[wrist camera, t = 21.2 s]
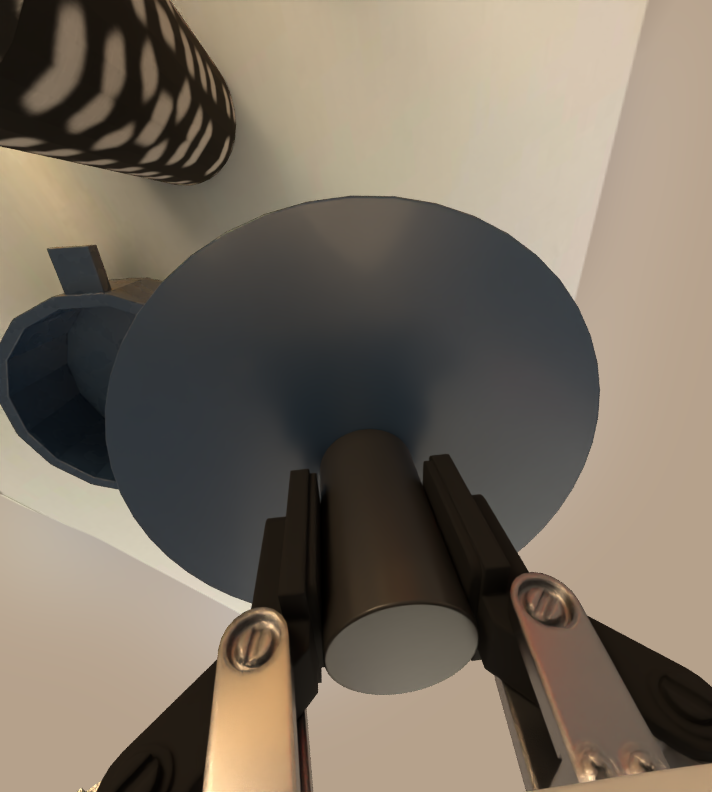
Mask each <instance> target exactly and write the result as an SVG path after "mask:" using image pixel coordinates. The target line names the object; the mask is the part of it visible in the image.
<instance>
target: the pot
mask: <svg viewBox="0 0 712 792" xmlns="http://www.w3.org/2000/svg"><path fill="white" fill-rule="evenodd" d="M47 251H48V253H49V256H50V258H51V261H52V263H53V265H54V268H55V270H56V273H57V275H58V278H59V280H60V283H61V285H62V288H63V290H64V293H63V294H60V295H57V296H53V297H51V298H49V299H47V300H46V301H44V302H42V303H40V304H39V305H37V306H35V307H33V308H31V309H30V310H28V311H26V312H24V313H23V314H21V315H19V316H17V317H16V318H14V319H13V320H12V322H11V323H10V325H9V327H8V329H7V331H6V333H5V335H4V336H3V338H2V340H1V342H0V404H1V406H2V408H3V410H4V411H5V413H6V415H7V417H8V419H9V420H10V422H11V424H12V426H13V428H14V429H15V431H16V433H17V434H18V436H19V437H21V438H22V439H23V440H24V441H25V442H26V443H27V444H28V445H30V446H31V447H32V448H33V449H34V450H35V451H36V452H37V453H39V454H40V455H41V456H42V457H43V458H44V459H45V460H46V461H48V462H49V463H50V464H51V465H53V466H55V467H57V468H59V469H61V470H63V471H65V472H67V473H69V474H72V475H74V476H76V477H78V478H80V479H82V480H84V481H86V482H88V483H90V484H93V485H98V486H103V487H108V488H114V489H119V488H118V485H117V483H116V480H115V477H114V474H113V472H112V469H111V465H110V460H109V455H108V450H107V444H106V437H105V405H106V398H107V392H108V385H109V378H110V375H111V372H112V369H113V366H114V363H115V360H116V357H117V354H118V351H119V348H120V345H121V343H122V341H123V339H124V337H125V335H126V334H127V332H128V330H129V328H130V326H131V324H132V322H133V321H134V319H135V317H136V315H137V313H138V312H139V311H140V309H141V308H142V307H143V306H144V304H145V303H146V302H147V300H148V299H149V298H150V297H151V295H152V294H153V293H154V291H155V290H156V289H157V288H158V286H159V285H160V284H161V283H162V282H163V281H160V280H154V279H151V278H127V279H118V280H108V277H107V274H106V271H105V269H104V266H103V263H102V260H101V257H100V254H99V251H98V248H97V246H96V245H83V246H67V247H53V248H47Z"/></svg>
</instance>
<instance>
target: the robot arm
mask: <svg viewBox="0 0 712 792" xmlns="http://www.w3.org/2000/svg"><path fill="white" fill-rule="evenodd" d="M423 488H424V490H425V493H426V495H427V498H428V500H429V503H430V505H431V508H432V511H433V513H434V516H435V518H436V521H437V523H438V526H439V528H440V531H441V533H442V536H443V539H444V541H445V544H446V546H447V549H448V551H449V554H450V556H451V559H452V561H453V564H454V567H455V569H456V572H457V574H458V577H459V579H460V582H461V584H462V587H463V590H464V592H465V595H466V597H467V600H468V602H469V605H470V607H471V610H472V612H473V615H474V618H475V620H476V623H477V625H478V628H479V644H478V648H477V650H476V652H475V654H474V656H473V657H472V658H471V660H472V661H475V660H482V662H483V665H484V668H485V669H486V670H488V671H489V672H491V673H492V674H493V675H495V681H496V684H497V688H498V691H499V695H500V699H501V702H502V706H503V710H504V713H505V717H506V720H507V724H508V728H509V731H510V735H511V738H512V742H513V746H514V749H515V752H516V756H517V760H518V764H519V767H520V771H521V774H522V778H523V782H524V785H525V789H526V792H712V687H711V686H710V685H709V684H708V683H707V682H705V681H704V680H703V679H702V678H701V677H699V676H698V675H696V674H695V673H693V672H692V671H690V670H689V669H687V668H685V667H683V666H682V665H680V664H678V663H676V662H674V661H672V660H670V659H668V658H666V657H664V656H663V655H661V654H659V653H657V652H655V651H653V650H651V649H649V648H647V647H645V646H644V645H642V644H640V643H638V642H636V641H634V640H632V639H630V638H629V637H627V636H625V635H622V634H621V633H619V632H617V631H615V630H613V629H612V628H610V627H608V626H606V625H604V624H602V623H600V622H598V621H596V620H595V619H592V618H591V617H589V616H587V615H586V613H585V611H584V609H583V607H582V606H581V604H580V602H579V600H578V599H577V598H576V596H575V595H574V593H573V592H572V591H571V590H570V589H569V588H568V587H567V586H566V585H565V584H563V583H562V582H560V581H559V580H557V579H555V578H553V577H551V576H549V575H546V574H543V573H536V572H528V570H527V568H526V567H525V565H524V563H523V561H522V560H521V558H520V556H519V555H518V553H517V551H516V550H515V548H514V546H513V545H512V543H511V541H510V540H509V538H508V536H507V534H506V533H505V531H504V529H503V528H502V526H501V524H500V523H499V521H498V519H497V518H496V516H495V514H494V512H493V511H492V509H491V507H490V506H489V504H488V502H487V501H486V499H485V498H484V496H482V495H481V494H477V495H471V493H470V491H469V489H468V488H467V486H466V484H465V482H464V480H463V478H462V477H461V475H460V473H459V471H458V469H457V468H456V466H455V464H454V462H453V460H452V458H451V457H450V455H449V454H441V455H432V456H430V457H429V461H424V463H423ZM322 667H325V666H324V662H323V631H322V565H321V502H320V495H319V487H318V480H317V473H310V471H309V469H301V470H292V471H290V480H289V490H288V500H287V510H286V516H285V517H276V518H268V519H267V520H266V523H265V528H264V534H263V540H262V546H261V553H260V559H259V565H258V571H257V577H256V583H255V589H254V595H253V601H252V607H251V610H248V611H246V612H244V613H242V614H241V615H240V616H238V617H237V618H235V619H234V620H233V622H232V623H231V624H230V625H229V626H228V627H227V629H226V630H225V632H224V634H223V636H222V638H221V641H220V645H219V649H218V657H217V660H216V661H215V662H214V663H213V664H212V665H211V666H210V667H209V668H208V669H207V670H206V671H205V672H204V673H203V674H202V675H201V676H200V677H199V678H198V679H197V680H196V681H195V682H194V683H193V684H192V685H191V686H189V687H188V688H187V689H186V690H185V691H184V692H183V693H182V694H181V695H180V696H179V697H178V698H177V699H176V700H175V701H174V702H173V703H172V704H171V705H170V706H169V707H168V708H167V709H166V710H165V711H164V712H163V713H162V714H161V715H160V716H159V717H158V718H157V719H156V720H155V721H154V722H153V723H152V724H151V725H150V726H149V727H148V728H147V729H146V730H145V731H144V732H143V733H141V734H140V735H139V736H138V738H136V739H135V740H134V741H133V742H132V743H131V744H130V745H129V746H128V747H127V748H126V749H125V750H124V751H123V752H122V753H121V754H120V756H119V757H118V758H117V759H116V760H115V761H114V763H113V764H112V765H111V766H110V768H109V769H108V771H107V773H106V774H105V776H104V777H103V779H102V781H100V782H99V783H98V784H96V785H95V786H93V787H92V788H91V789H89V790H88V791H86V792H313V784H312V771H311V758H310V746H309V734H308V723H307V709H306V708H307V707H308V705H309V704H310V702H311V701H312V700H313V699H314V697H315V696H316V694H317V693H318V683H321V668H322ZM77 792H85V791H84V790H83V789H80V790H79V791H77Z"/></svg>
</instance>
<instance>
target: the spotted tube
mask: <svg viewBox="0 0 712 792" xmlns="http://www.w3.org/2000/svg"><path fill="white" fill-rule="evenodd" d="M235 129H236V121H235V111H234V106H233V102H232V98H231V95H230V92H229V90H228V87H227V85H226V83H225V80H224V79H223V77H222V75H221V74H220V72H219V70H218V69H217V67H216V66H215V64H214V63H213V61H212V60H211V58H210V57H209V55H208V54H207V53H206V51H205V50H204V48H203V47H202V45H201V44H200V43H199V41H198V40H197V38H196V37H195V35H194V34H193V32H192V31H191V30H190V28H189V27H188V25H187V24H186V22H185V21H184V19H183V18H182V17H181V15H180V14H179V12H178V11H177V9H176V8H175V6H174V5H173V4H172V2H171V1H170V0H0V146H2V147H6V148H11V149H15V150H20V151H24V152H29V153H34V154H38V155H43V156H47V157H52V158H56V159H61V160H66V161H70V162H75V163H79V164H84V165H88V166H93V167H98V168H102V169H107V170H111V171H116V172H120V173H125V174H130V175H134V176H139V177H143V178H148V179H153V180H157V181H162V182H166V183H171V184H175V185H193V184H198V183H201V182H204V181H206V180H208V179H210V178H211V177H213V176H214V175H215V174H217V173H218V172H219V171H220V170H221V168H222V167H223V166H224V165H225V163H226V162H227V160H228V158H229V156H230V153H231V151H232V148H233V144H234V140H235Z"/></svg>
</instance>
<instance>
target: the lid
mask: <svg viewBox="0 0 712 792" xmlns="http://www.w3.org/2000/svg"><path fill="white" fill-rule="evenodd" d="M599 394H600V387H599V374H598V363H597V359H596V355H595V351H594V347H593V343H592V340H591V336H590V333H589V331H588V328H587V326H586V324H585V321H584V319H583V317H582V315H581V313H580V310H579V308H578V306H577V305H576V303H575V302H574V300H573V299H572V297H571V295H570V294H569V292H568V291H567V289H566V288H565V286H564V285H563V283H562V282H561V280H560V279H559V278H558V277H557V276H556V275H555V274H554V273H553V272H552V271H551V270H550V269H549V268H548V267H547V265H546V264H545V263H544V262H543V261H542V260H541V259H540V258H539V257H538V256H537V255H536V254H534V253H533V252H532V251H530V250H529V249H528V248H527V247H525V246H524V245H523V244H521V243H520V242H519V241H517V240H516V239H515V238H513V237H512V236H511V235H509V234H508V233H506V232H504V231H502V230H500V229H498V228H496V227H494V226H493V225H491V224H489V223H487V222H485V221H483V220H481V219H479V218H477V217H475V216H473V215H470V214H467V213H464V212H461V211H458V210H455V209H452V208H449V207H446V206H443V205H440V204H437V203H431V202H425V201H419V200H414V199H408V198H402V197H396V196H345V197H338V198H331V199H323V200H316V201H309V202H304V203H301V204H298V205H294V206H291V207H287V208H284V209H281V210H277V211H274V212H270V213H267V214H264V215H262V216H260V217H258V218H255V219H253V220H251V221H249V222H247V223H245V224H243V225H240V226H238V227H236V228H234V229H232V230H230V231H228V232H225V233H224V234H222V235H221V236H219V237H218V238H216V239H215V240H213V241H212V242H210V243H209V244H207V245H206V246H204V247H203V248H201V249H200V250H198V251H197V252H195V253H194V254H192V255H191V256H190V257H189V258H188V259H186V260H185V261H184V262H183V263H182V264H181V265H180V266H179V267H178V268H177V269H176V270H175V271H174V272H172V273H171V274H170V275H169V276H168V277H167V278H166V279H165V280H164V281H163V282H162V283H161V284H160V285H159V286H158V288H157V289H156V290H155V291H154V293H153V294H152V295H151V297H150V298H149V299H148V300H147V302H146V303H145V304H144V306H143V307H142V308H141V309H140V311H139V312H138V313H137V315H136V317H135V319H134V321H133V322H132V324H131V326H130V328H129V330H128V332H127V334H126V335H125V337H124V339H123V341H122V343H121V345H120V348H119V351H118V354H117V357H116V360H115V363H114V366H113V369H112V372H111V375H110V378H109V385H108V392H107V398H106V405H105V437H106V444H107V450H108V455H109V460H110V465H111V469H112V472H113V474H114V477H115V480H116V483H117V485H118V488H119V491H120V493H121V495H122V497H123V499H124V501H125V503H126V504H127V506H128V508H129V510H130V512H131V513H132V515H133V517H134V518H135V520H136V521H137V522H138V524H139V525H140V526H141V528H142V529H143V530H144V532H145V533H146V534H147V536H148V537H149V538H150V539H151V540H152V541H153V542H154V543H155V544H156V545H157V546H158V547H159V548H160V549H161V550H162V551H163V552H164V553H165V554H166V555H167V556H168V557H169V558H170V559H171V560H173V561H174V562H175V563H176V564H178V565H179V566H180V567H182V568H183V569H184V570H185V571H187V572H188V573H190V574H191V575H193V576H195V577H196V578H198V579H199V580H201V581H203V582H204V583H206V584H208V585H209V586H211V587H213V588H216V589H218V590H220V591H222V592H224V593H226V594H228V595H230V596H233V597H235V598H238V599H241V600H244V601H247V602H249V603H252V601H253V595H254V589H255V583H256V577H257V571H258V565H259V559H260V553H261V546H262V540H263V534H264V528H265V523H266V520H267V519H268V518H276V517H285V516H286V510H287V500H288V490H289V480H290V471H292V470H301V469H309V471H310V473H317V480H318V487H319V495H320V502H321V565H322V631H323V662H324V666H325V668H326V670H327V672H328V674H329V675H330V676H331V678H332V679H333V680H334V681H336V682H337V683H339V684H340V685H342V686H343V687H346V688H348V689H351V690H353V691H357V692H361V693H366V694H375V695H390V694H401V693H407V692H412V691H416V690H420V689H423V688H426V687H430V686H432V685H435V684H437V683H439V682H441V681H443V680H445V679H447V678H449V677H451V676H452V675H454V674H455V673H457V672H458V671H459V670H461V669H462V668H463V667H464V666H465V665H466V664H467V663H468V662H469V661H470V660H471V658H472V657H473V656H474V654H475V652H476V650H477V648H478V644H479V628H478V625H477V623H476V620H475V618H474V615H473V612H472V610H471V607H470V605H469V602H468V600H467V597H466V595H465V592H464V590H463V587H462V584H461V582H460V579H459V577H458V574H457V572H456V569H455V567H454V564H453V561H452V559H451V556H450V554H449V551H448V549H447V546H446V544H445V541H444V539H443V536H442V533H441V531H440V528H439V526H438V523H437V521H436V518H435V516H434V513H433V511H432V508H431V505H430V503H429V500H428V498H427V495H426V493H425V490H424V488H423V463H424V461H429V457H430V456H432V455H441V454H449V455H450V457H451V458H452V460H453V462H454V464H455V466H456V468H457V469H458V471H459V473H460V475H461V477H462V478H463V480H464V482H465V484H466V486H467V488H468V489H469V491H470V493H471V495H477V494H481V495H482V496H484V498H485V499H486V501H487V502H488V504H489V506H490V507H491V509H492V511H493V512H494V514H495V516H496V518H497V519H498V521H499V523H500V524H501V526H502V528H503V529H504V531H505V533H506V534H507V536H508V538H509V540H510V541H511V543H512V545H513V546H514V548H515V550H516V551H517V552H518V551H520V550H521V549H522V548H523V547H525V546H526V545H527V544H528V543H529V542H530V541H531V540H532V539H533V538H534V537H535V536H536V535H537V534H538V533H539V532H540V531H541V530H542V529H543V528H544V527H545V526H546V525H547V523H548V522H549V521H550V520H551V519H552V517H553V516H554V515H555V514H556V512H557V511H558V510H559V509H560V507H561V506H562V504H563V503H564V501H565V499H566V498H567V497H568V495H569V494H570V492H571V491H572V489H573V487H574V485H575V483H576V481H577V479H578V477H579V475H580V473H581V471H582V469H583V467H584V465H585V462H586V460H587V457H588V454H589V451H590V448H591V445H592V443H593V438H594V433H595V429H596V424H597V420H598V410H599V396H600V395H599Z"/></svg>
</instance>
